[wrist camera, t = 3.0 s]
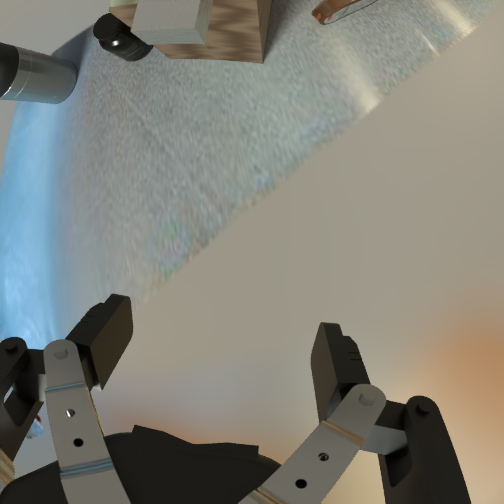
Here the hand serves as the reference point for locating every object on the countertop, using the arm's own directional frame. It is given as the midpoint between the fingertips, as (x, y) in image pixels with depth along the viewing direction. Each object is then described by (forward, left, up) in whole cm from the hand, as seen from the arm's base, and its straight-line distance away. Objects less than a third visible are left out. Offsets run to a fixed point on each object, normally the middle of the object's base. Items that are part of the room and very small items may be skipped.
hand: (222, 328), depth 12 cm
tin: (+11, +36, -41) cm, 56 cm away
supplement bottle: (-25, +25, -41) cm, 54 cm away
